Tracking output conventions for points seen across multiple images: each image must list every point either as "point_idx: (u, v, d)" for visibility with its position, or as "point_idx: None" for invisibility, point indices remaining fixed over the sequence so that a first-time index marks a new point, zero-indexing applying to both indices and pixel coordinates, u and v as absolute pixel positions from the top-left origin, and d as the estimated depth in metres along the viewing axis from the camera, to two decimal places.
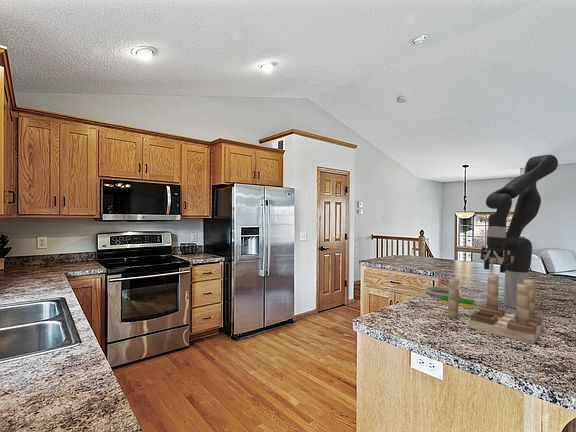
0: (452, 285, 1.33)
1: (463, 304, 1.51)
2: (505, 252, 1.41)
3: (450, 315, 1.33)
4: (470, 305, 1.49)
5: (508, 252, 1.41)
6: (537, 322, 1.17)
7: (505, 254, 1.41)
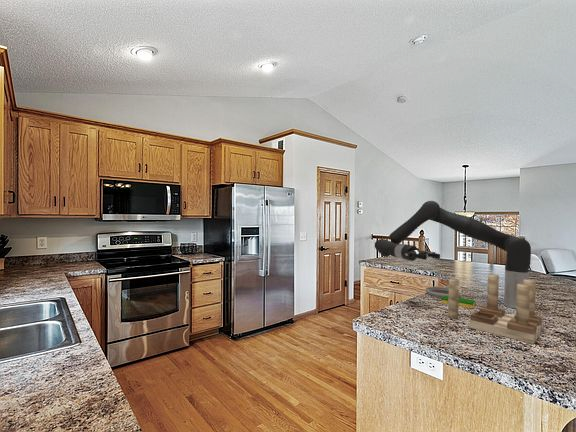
0: (452, 285, 1.33)
1: (463, 304, 1.51)
2: (406, 257, 1.50)
3: (450, 315, 1.33)
4: (470, 305, 1.49)
5: (405, 254, 1.50)
6: (537, 322, 1.17)
7: (408, 257, 1.49)
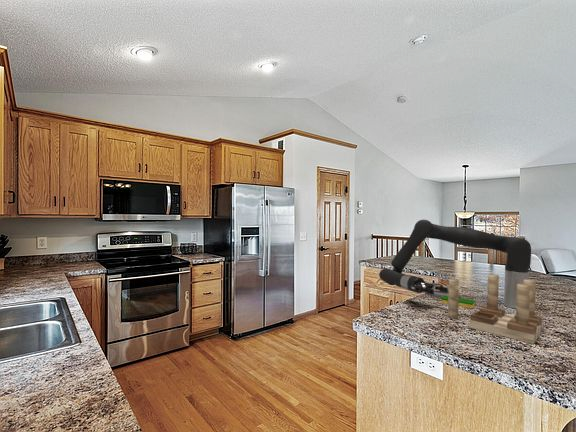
0: (452, 285, 1.33)
1: (462, 304, 1.51)
2: (413, 290, 1.46)
3: (450, 315, 1.33)
4: (469, 305, 1.49)
5: (412, 288, 1.46)
6: (537, 322, 1.17)
7: None
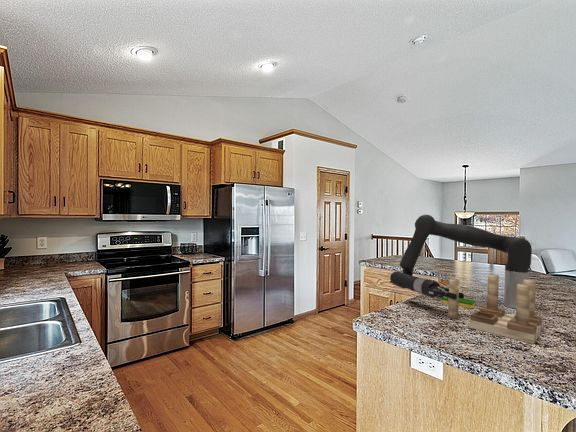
0: (453, 285, 1.33)
1: (462, 304, 1.51)
2: None
3: (450, 315, 1.33)
4: (469, 305, 1.49)
5: (430, 293, 1.37)
6: (537, 322, 1.17)
7: None
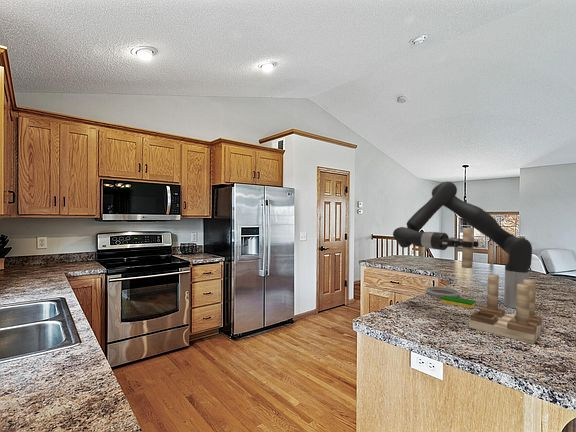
0: (468, 233, 1.26)
1: (462, 304, 1.51)
2: (444, 245, 1.30)
3: (465, 265, 1.27)
4: (469, 305, 1.49)
5: (444, 243, 1.30)
6: (537, 322, 1.17)
7: (447, 246, 1.29)
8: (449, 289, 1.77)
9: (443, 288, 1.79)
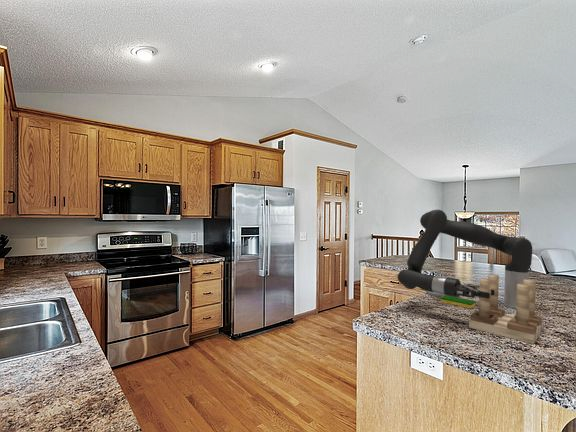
0: (486, 285, 1.20)
1: (461, 304, 1.51)
2: None
3: None
4: (468, 305, 1.49)
5: (459, 292, 1.23)
6: (537, 322, 1.17)
7: None
8: None
9: None
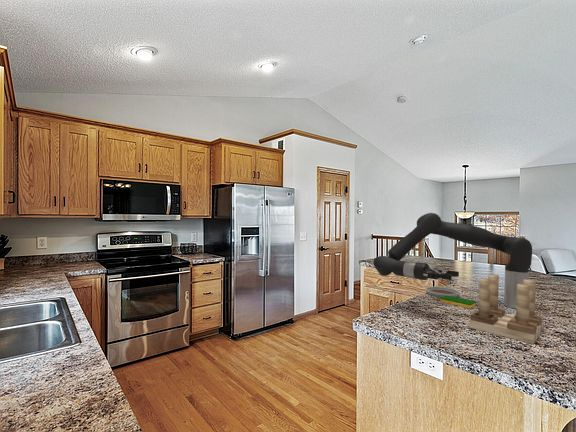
0: (486, 285, 1.21)
1: (461, 304, 1.51)
2: (425, 277, 1.33)
3: None
4: (467, 305, 1.49)
5: (425, 275, 1.32)
6: (537, 322, 1.17)
7: None
8: (449, 289, 1.77)
9: (443, 288, 1.79)
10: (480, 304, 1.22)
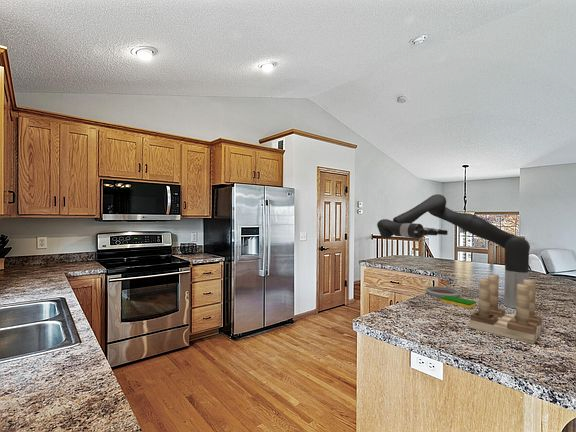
0: (486, 285, 1.21)
1: (460, 304, 1.51)
2: (415, 234, 1.52)
3: None
4: (467, 305, 1.49)
5: (415, 232, 1.52)
6: (537, 322, 1.17)
7: (417, 234, 1.51)
8: (449, 289, 1.77)
9: (443, 288, 1.79)
10: (480, 304, 1.22)
